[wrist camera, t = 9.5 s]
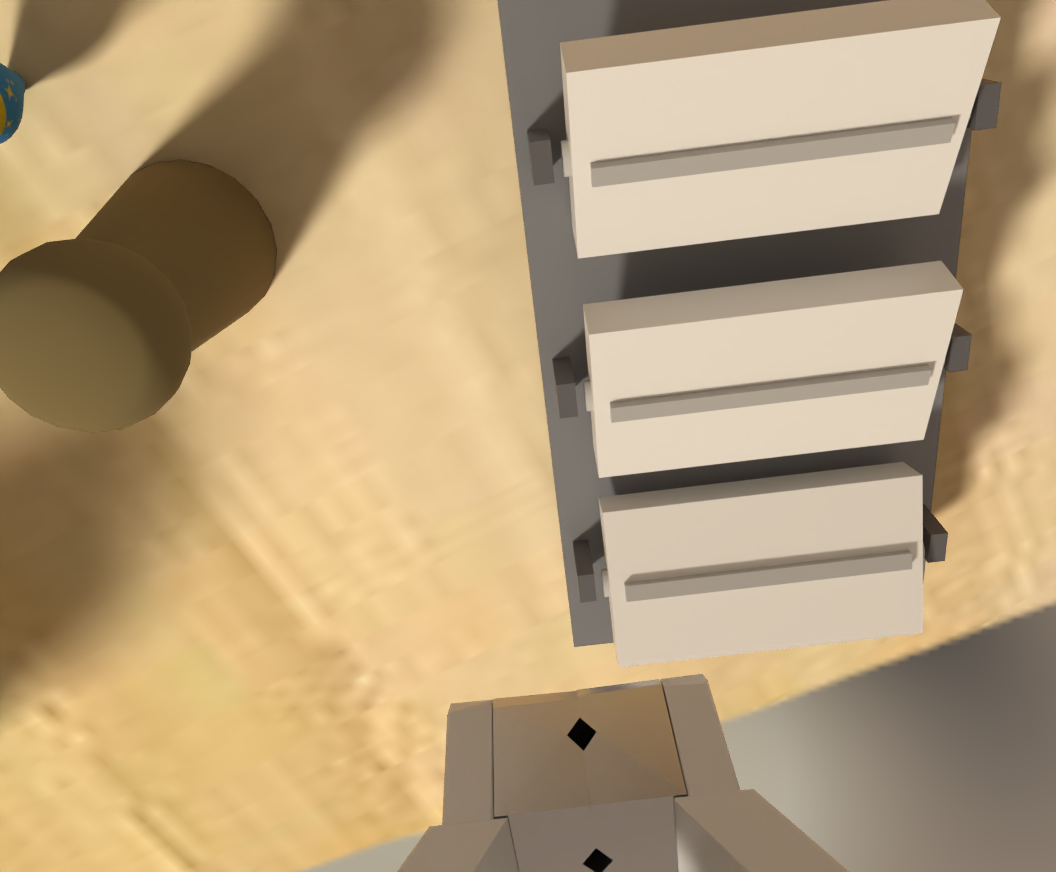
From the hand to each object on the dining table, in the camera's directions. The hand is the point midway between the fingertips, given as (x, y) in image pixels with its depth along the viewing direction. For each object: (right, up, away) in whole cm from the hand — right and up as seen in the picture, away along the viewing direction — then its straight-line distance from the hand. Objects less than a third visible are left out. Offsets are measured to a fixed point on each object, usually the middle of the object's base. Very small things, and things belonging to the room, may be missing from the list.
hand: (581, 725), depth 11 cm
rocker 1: (+6, +12, +15) cm, 20 cm away
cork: (-13, +10, +22) cm, 27 cm away
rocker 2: (+7, +5, +18) cm, 20 cm away
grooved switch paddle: (+8, -1, +22) cm, 23 cm away
